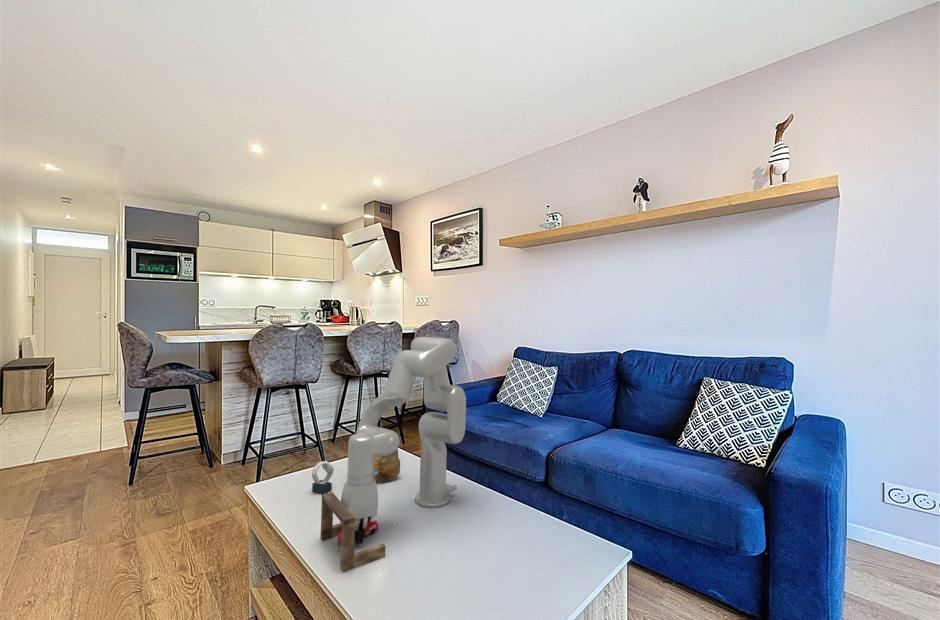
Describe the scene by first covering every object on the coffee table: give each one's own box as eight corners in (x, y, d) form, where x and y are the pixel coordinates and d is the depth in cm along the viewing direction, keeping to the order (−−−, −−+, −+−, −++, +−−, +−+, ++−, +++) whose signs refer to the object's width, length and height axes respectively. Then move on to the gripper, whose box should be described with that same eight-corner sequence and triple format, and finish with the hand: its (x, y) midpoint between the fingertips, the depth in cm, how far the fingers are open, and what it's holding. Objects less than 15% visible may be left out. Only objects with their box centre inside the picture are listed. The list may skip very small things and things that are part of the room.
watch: (335, 489, 153) (336, 460, 153) (317, 497, 146) (318, 466, 146) (325, 486, 156) (326, 457, 156) (307, 493, 149) (308, 463, 149)
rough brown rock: (334, 478, 165) (334, 443, 164) (366, 463, 179) (365, 430, 178) (373, 495, 152) (372, 457, 151) (404, 478, 166) (403, 442, 165)
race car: (343, 550, 114) (344, 536, 114) (333, 543, 117) (333, 529, 117) (381, 531, 124) (381, 518, 124) (370, 525, 127) (370, 513, 127)
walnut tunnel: (359, 527, 126) (360, 484, 126) (385, 556, 111) (386, 508, 111) (320, 538, 119) (321, 494, 119) (342, 572, 103) (343, 520, 104)
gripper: (379, 468, 124) (377, 528, 123) (330, 478, 115) (328, 543, 114) (389, 476, 118) (387, 539, 117) (339, 488, 109) (337, 556, 108)
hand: (358, 541), depth 116 cm, fingers closed
